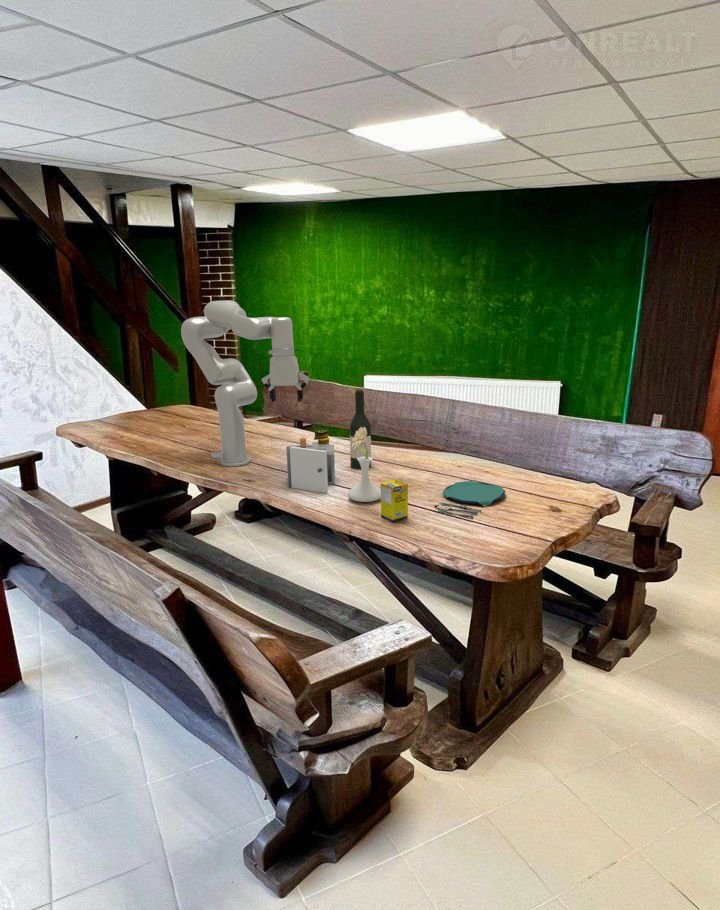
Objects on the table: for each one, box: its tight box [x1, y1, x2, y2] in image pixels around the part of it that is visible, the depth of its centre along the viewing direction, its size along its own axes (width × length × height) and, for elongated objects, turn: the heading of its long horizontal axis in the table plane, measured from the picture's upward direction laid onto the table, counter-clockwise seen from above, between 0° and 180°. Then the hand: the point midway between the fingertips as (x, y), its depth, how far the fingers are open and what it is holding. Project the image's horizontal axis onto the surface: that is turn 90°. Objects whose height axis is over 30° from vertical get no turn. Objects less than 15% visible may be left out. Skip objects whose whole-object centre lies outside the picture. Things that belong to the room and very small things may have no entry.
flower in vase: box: [347, 427, 381, 503], centre depth 194 cm, size 13×11×25 cm
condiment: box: [313, 429, 330, 445], centre depth 242 cm, size 7×8×12 cm
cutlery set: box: [433, 480, 506, 519], centre depth 196 cm, size 20×30×2 cm, turn 146°
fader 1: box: [299, 436, 307, 447], centre depth 217 cm, size 2×2×3 cm
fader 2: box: [311, 439, 318, 449], centre depth 213 cm, size 2×2×3 cm
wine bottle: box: [349, 388, 372, 470], centre depth 230 cm, size 8×8×30 cm
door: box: [286, 445, 329, 494], centre depth 206 cm, size 16×2×14 cm, turn 62°
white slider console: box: [289, 444, 336, 486], centre depth 216 cm, size 16×10×12 cm, turn 92°
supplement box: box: [380, 478, 409, 522], centre depth 181 cm, size 6×6×11 cm
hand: (286, 401), depth 218 cm, fingers open, 9 cm apart
